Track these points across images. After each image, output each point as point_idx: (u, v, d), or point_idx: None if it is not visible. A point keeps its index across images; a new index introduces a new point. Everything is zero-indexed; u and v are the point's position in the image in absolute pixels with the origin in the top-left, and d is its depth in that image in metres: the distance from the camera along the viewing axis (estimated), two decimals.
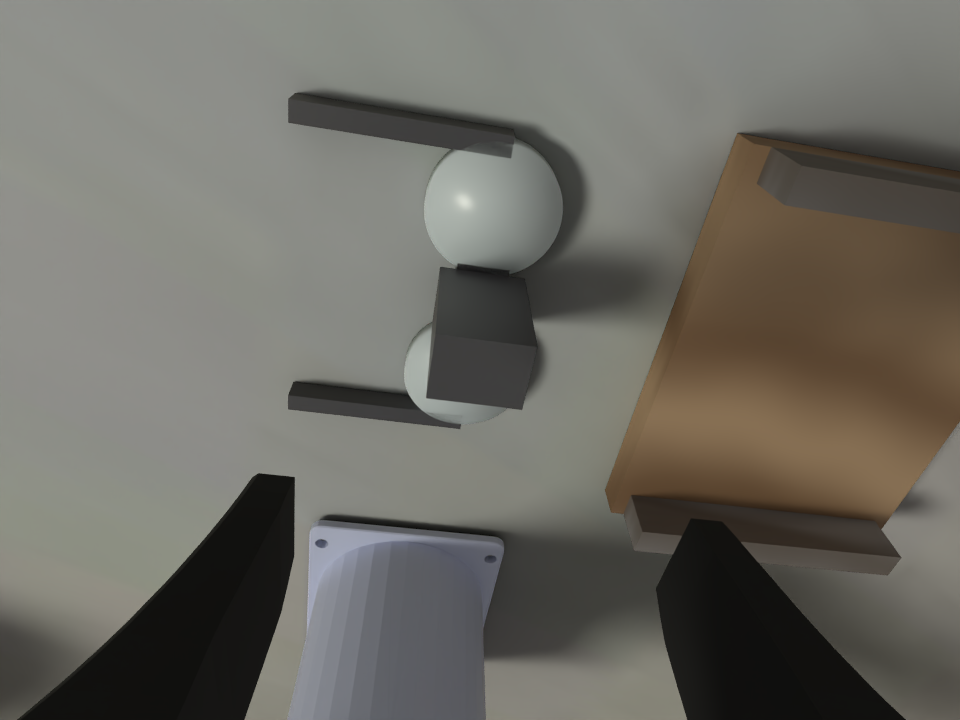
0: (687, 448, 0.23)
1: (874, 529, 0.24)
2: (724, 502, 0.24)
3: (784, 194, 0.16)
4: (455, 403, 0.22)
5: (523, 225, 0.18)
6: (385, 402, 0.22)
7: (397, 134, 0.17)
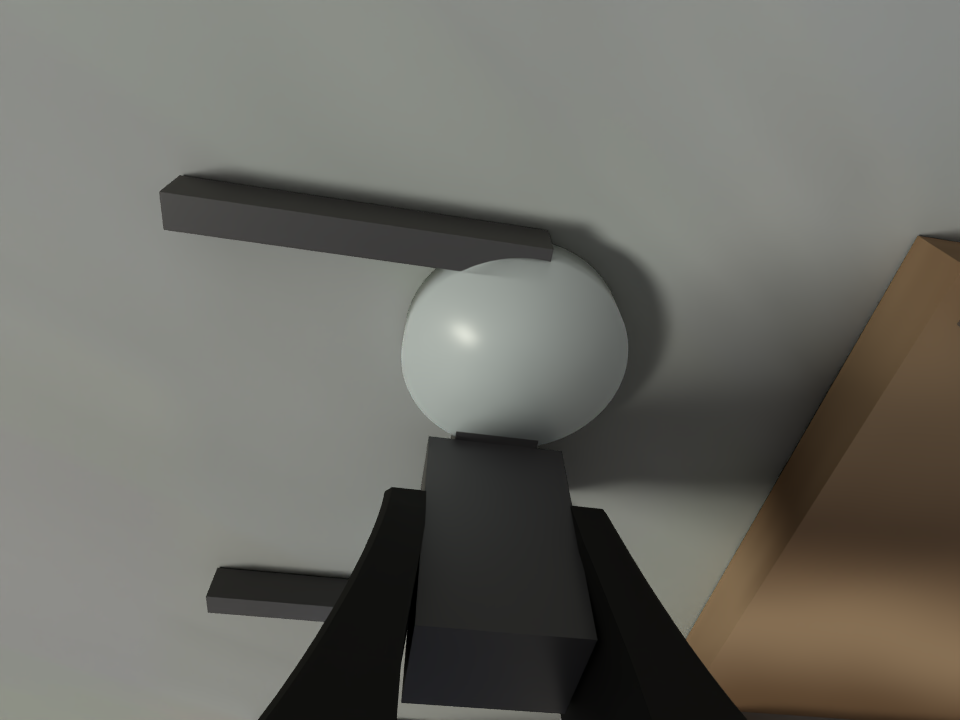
0: (788, 658, 0.16)
1: None
2: (831, 716, 0.17)
3: None
4: None
5: (562, 379, 0.11)
6: None
7: (353, 247, 0.10)
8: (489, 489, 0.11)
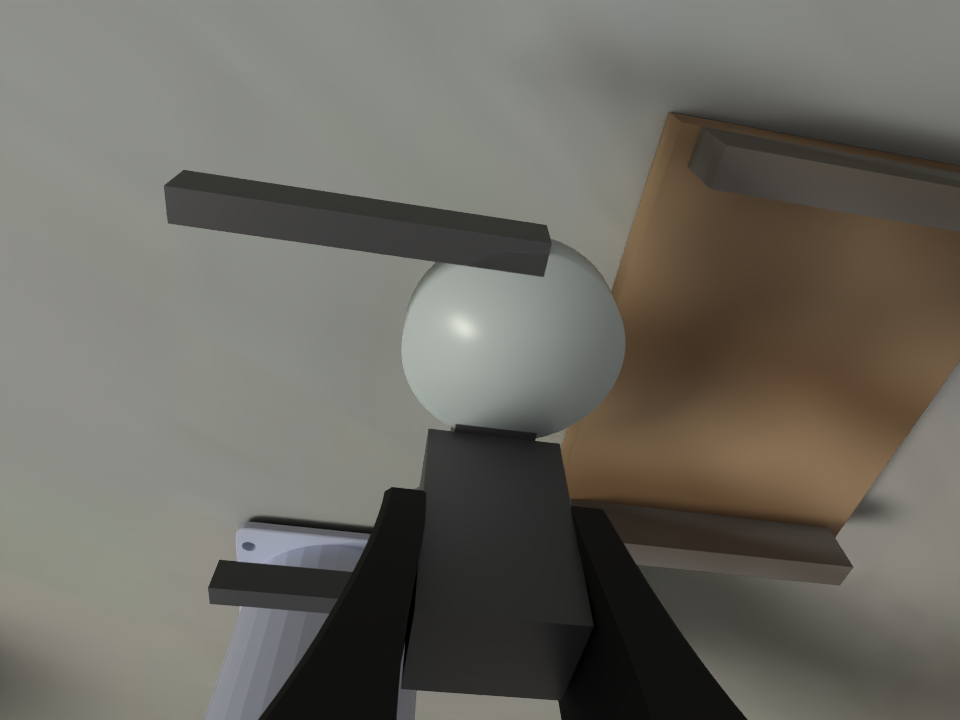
0: (627, 450, 0.21)
1: (827, 536, 0.23)
2: (669, 507, 0.23)
3: (710, 177, 0.15)
4: None
5: (560, 373, 0.12)
6: None
7: (354, 241, 0.10)
8: (488, 480, 0.11)
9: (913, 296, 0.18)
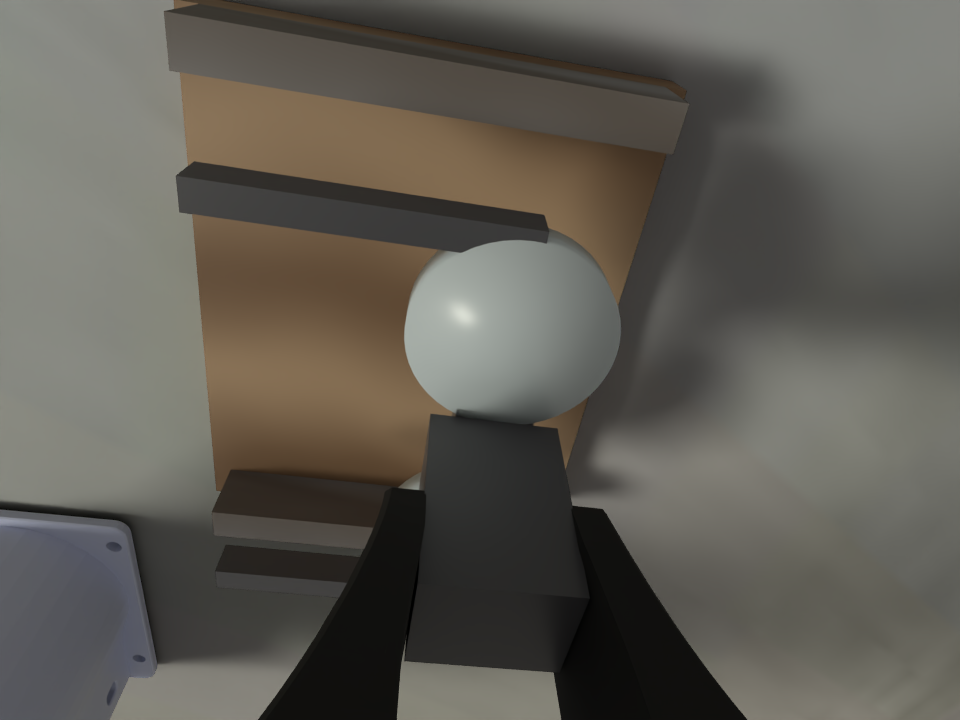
0: (273, 411, 0.19)
1: None
2: (347, 478, 0.20)
3: None
4: None
5: (558, 358, 0.12)
6: None
7: (358, 229, 0.10)
8: (488, 462, 0.12)
9: None
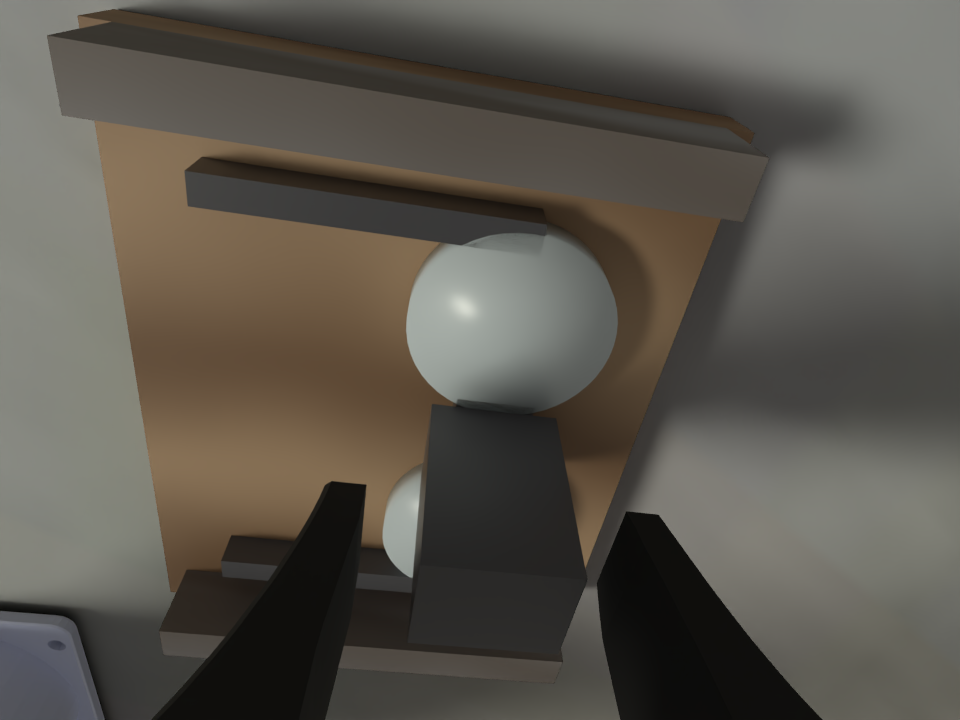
0: (234, 507, 0.15)
1: None
2: None
3: None
4: None
5: (557, 349, 0.12)
6: None
7: (361, 223, 0.11)
8: (488, 450, 0.12)
9: None
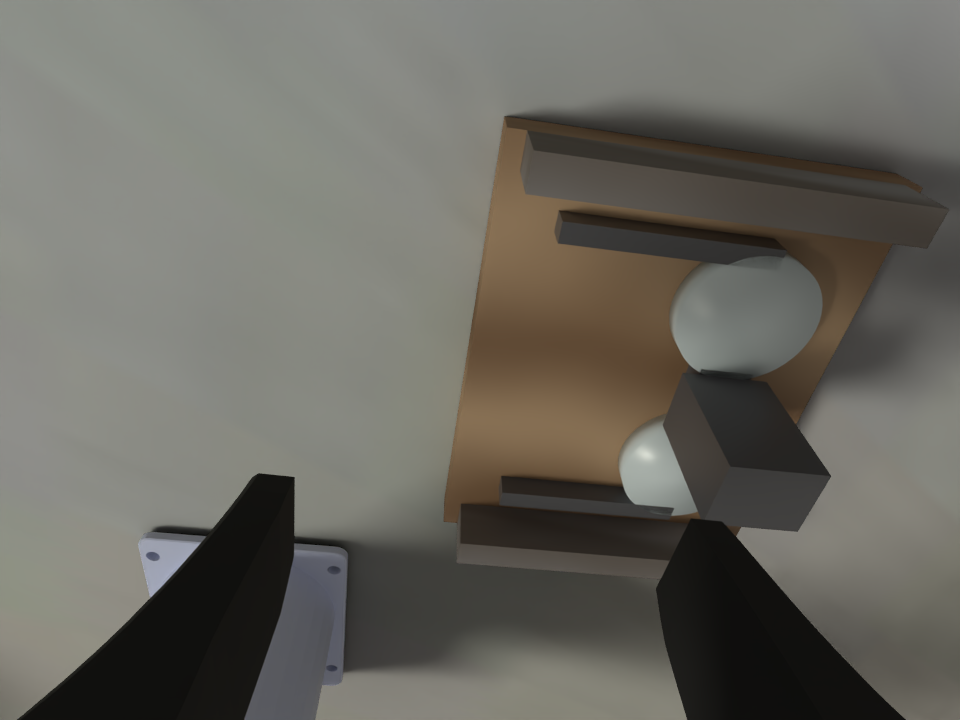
0: (509, 454, 0.21)
1: None
2: None
3: (526, 182, 0.15)
4: (669, 497, 0.21)
5: (776, 333, 0.18)
6: (596, 495, 0.22)
7: (666, 251, 0.16)
8: (734, 402, 0.18)
9: None
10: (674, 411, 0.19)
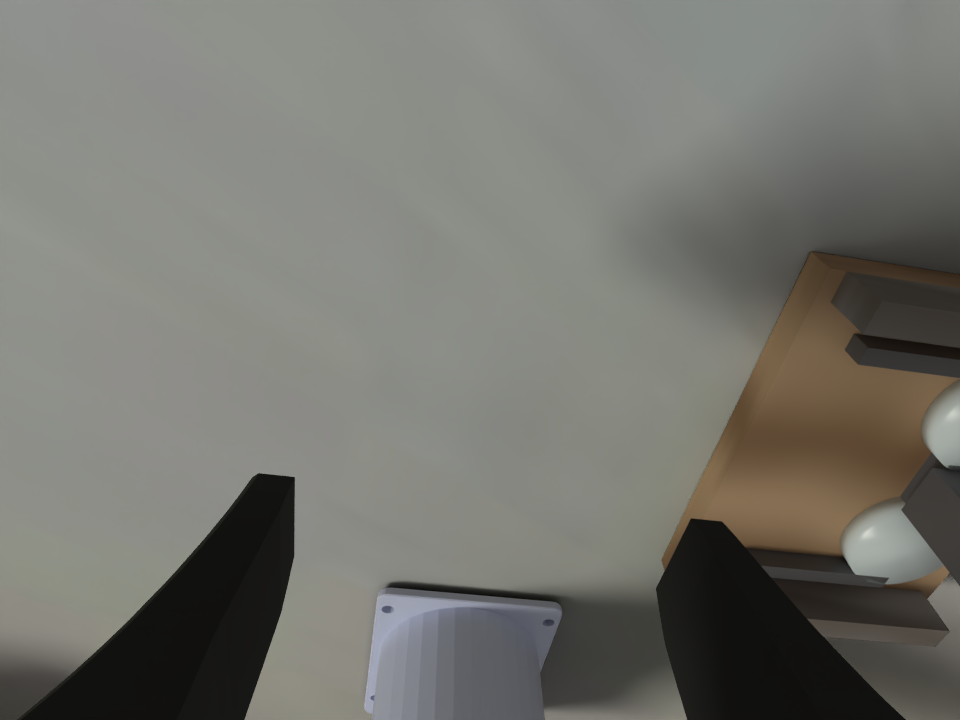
0: (746, 528, 0.24)
1: (922, 600, 0.25)
2: None
3: (862, 323, 0.17)
4: (888, 568, 0.24)
5: None
6: (820, 566, 0.24)
7: (949, 372, 0.19)
8: None
9: None
10: (921, 501, 0.21)
